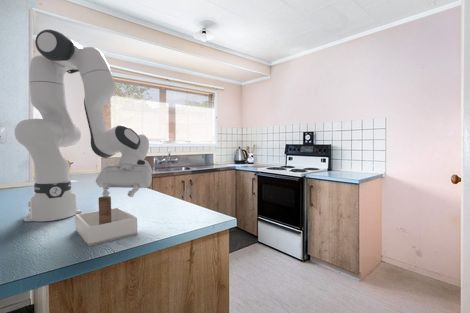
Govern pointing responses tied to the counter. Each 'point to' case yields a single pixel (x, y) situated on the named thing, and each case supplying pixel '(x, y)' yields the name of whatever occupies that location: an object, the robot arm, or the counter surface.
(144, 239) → the counter surface
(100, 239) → the bin
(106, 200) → the brown wooden block
